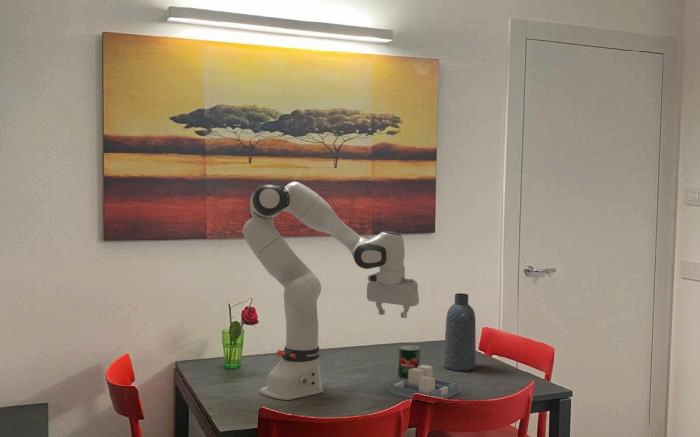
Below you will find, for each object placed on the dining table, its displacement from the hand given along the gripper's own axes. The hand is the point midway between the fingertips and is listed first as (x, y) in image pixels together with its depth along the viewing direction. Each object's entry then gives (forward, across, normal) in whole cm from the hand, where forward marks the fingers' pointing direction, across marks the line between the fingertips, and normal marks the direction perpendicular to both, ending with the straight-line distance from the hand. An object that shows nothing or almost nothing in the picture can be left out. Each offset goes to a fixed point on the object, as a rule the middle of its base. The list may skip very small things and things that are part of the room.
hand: (392, 316), depth 274 cm
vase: (+25, -8, -34) cm, 43 cm away
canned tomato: (+24, 0, -10) cm, 26 cm away
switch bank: (+24, -15, +3) cm, 29 cm away
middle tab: (+23, -11, +3) cm, 26 cm away
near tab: (+23, -19, +8) cm, 31 cm away
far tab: (+23, -11, -3) cm, 26 cm away
